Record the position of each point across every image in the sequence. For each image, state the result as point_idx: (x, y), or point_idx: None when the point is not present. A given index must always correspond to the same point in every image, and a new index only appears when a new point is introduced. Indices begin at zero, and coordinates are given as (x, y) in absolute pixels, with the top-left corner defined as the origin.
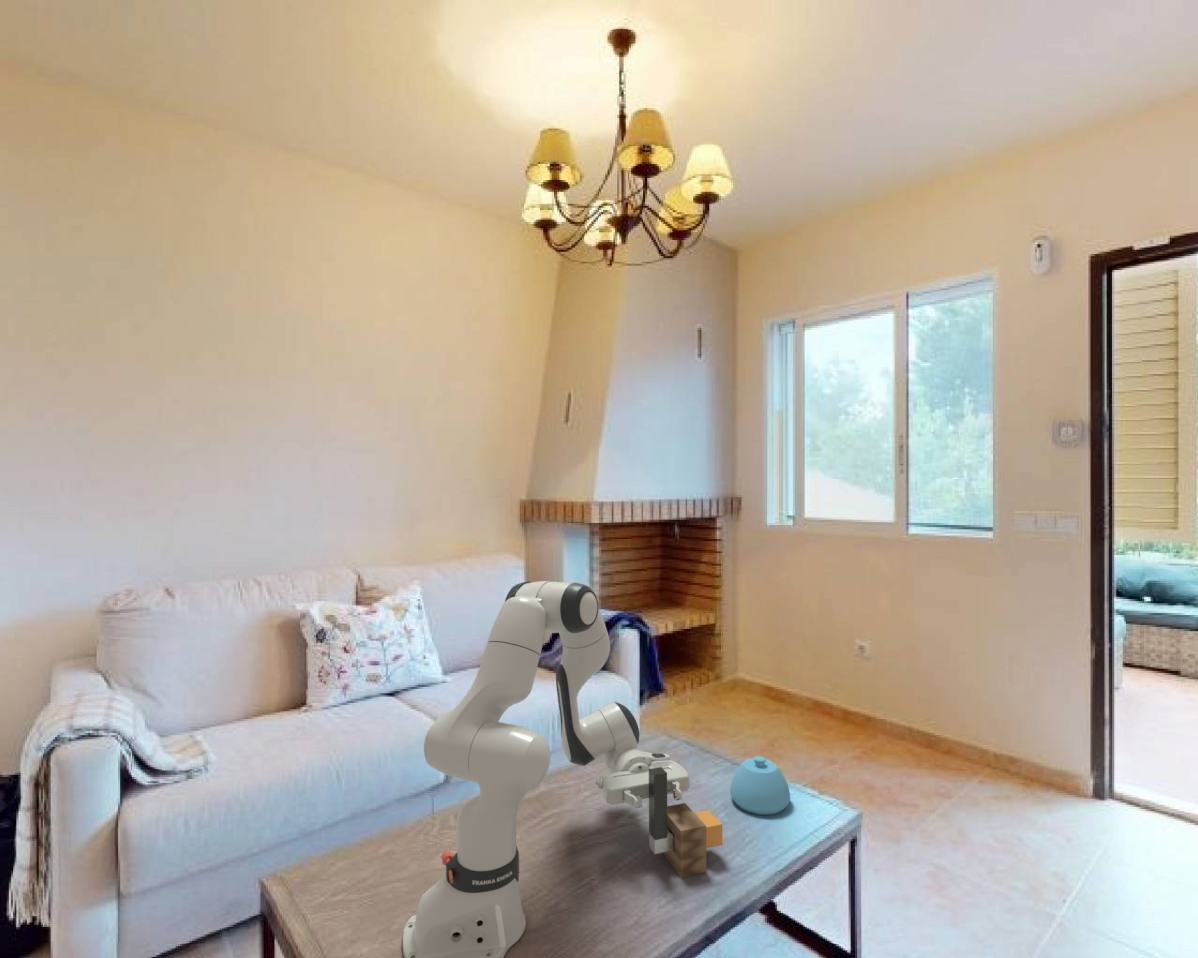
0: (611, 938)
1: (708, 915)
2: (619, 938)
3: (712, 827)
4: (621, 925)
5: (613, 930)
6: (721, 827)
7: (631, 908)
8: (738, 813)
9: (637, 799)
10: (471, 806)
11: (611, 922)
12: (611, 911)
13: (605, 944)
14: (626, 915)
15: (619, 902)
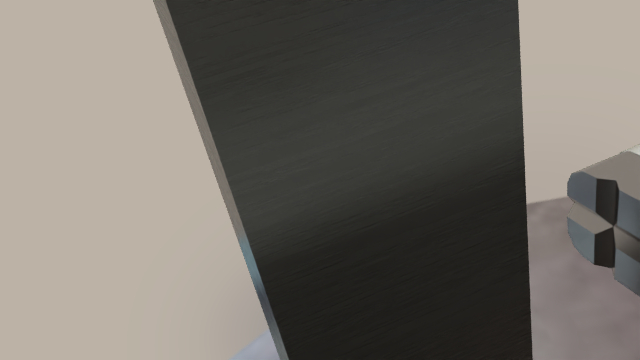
0: (559, 224)
1: (240, 352)
2: (533, 229)
3: None
4: (546, 265)
5: (565, 246)
6: None
7: (537, 335)
8: None
9: (633, 157)
10: None
11: (588, 269)
12: (614, 309)
13: (568, 207)
14: (544, 303)
15: (604, 356)
